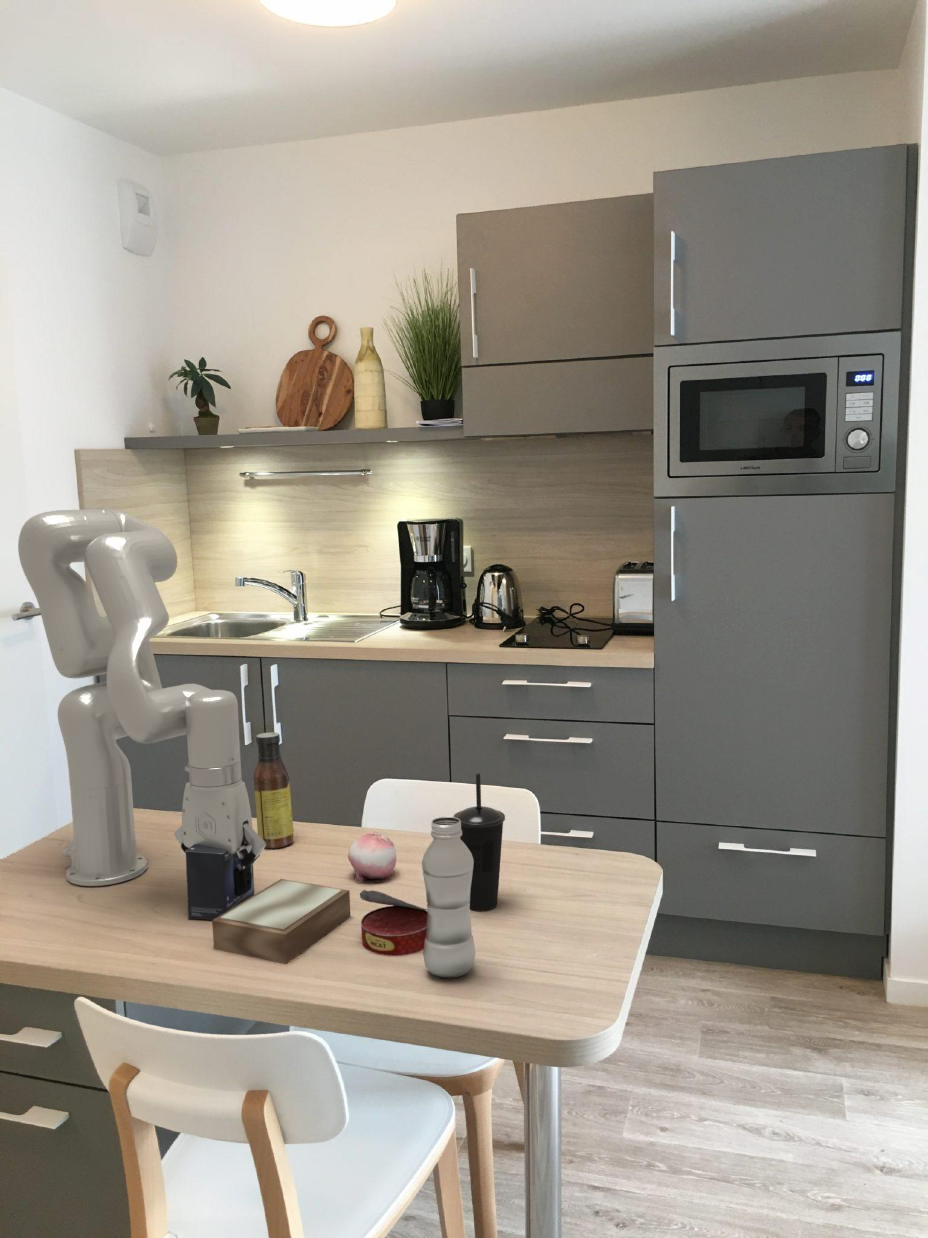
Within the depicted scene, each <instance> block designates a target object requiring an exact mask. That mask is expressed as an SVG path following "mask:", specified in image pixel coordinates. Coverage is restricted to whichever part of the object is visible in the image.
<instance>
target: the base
mask: <svg viewBox="0 0 928 1238" xmlns="http://www.w3.org/2000/svg"><path fill="white" fill-rule="evenodd" d="M350 894H351V893H350V889H349V890H348V889H343V888H338V887H331V886H326V885H321V884H314V883H307V882H304V881H303V882H301V881H295V880H291V879H290V880H289V879H283V878H280V879H279V880H277V881H275V882H274V883H272V884H270V885H269V886H267V887H265V888H264V889H262V890H260V891H259V892H257V893H254V895H253V896H252V897H250V898H249V899H247V900H245V901H244V902H242V903H240V904H239V905H237V906H235V907H234V908H232V909H230V910H229V911H227V912H225V913H224V914H222V915H220V916H219V917H217V918H215V919H214V920H211V921H212V924H211V925H212V937H213V938H212V940H213V949H215V950H220V951H225V952H229V953H234V954H240V955H244V956H249V957H253V958H258V959H263V960H267V961H271V962H273V961H274V962H278V963H282V964H289V963H290V962H291V961H292V960H293V959H295V958H296V957H298V956H299V955H300V954H302V953H303V952H304V951H306V950H307V949H309V948H310V947H312V946H313V945H314V944H315V943H317V942H318V941H319V940H321V939H322V938H323V937H325V936H326V935H328V934H329V933H330V932H332V931H333V930H334V929H336V928H338V927H339V926H340V925H341V924H343V923H344V922H345V921H347V920H348V919H349V918H351V917H352V915H351V897H350Z"/></svg>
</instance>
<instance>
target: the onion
mask: <svg viewBox="0 0 928 1238" xmlns="http://www.w3.org/2000/svg"><path fill="white" fill-rule="evenodd" d="M347 858H348V861H349V863H350V865H351V866H352V869H354V875H355V877H354V878H355V879H354V880H355V884H374V883H376V884H377V883H380V882H382V881H381V880H383V879H386V878H388V877H389V876H390V875H391V874H392V873H393V872H394V869H395V868H396V864H397V851H396V848H395V845H394V842H393V841H392V840H391V839H390V838H389V836H387V835H385V834H382V833H379V832H377V831H374V832H373V833H367V834H364V835H361V836H360V837H359V838H357V839H356V840H355V841H354V842H353V843H352V844H351V846H350V847H349V849H348V853H347ZM366 880H375V881H372V882H371V881H370V882H367V881H366Z"/></svg>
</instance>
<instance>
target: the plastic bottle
mask: <svg viewBox="0 0 928 1238" xmlns="http://www.w3.org/2000/svg"><path fill="white" fill-rule="evenodd" d="M430 823H431V831H430V836H431V837H432V838H433V839H432V841H431V842H430V844H429V845H428V847H427V848H426V849H425V852H424V854H423V856H422V858H421V859H422V860H421V869H422V876H423V881H424V888H425V897H426V909H427V910H426V911H427V912H428V913H427V929H426V937H425V942H424V949H423V951H422V955H423V961H424V965H425V967H426V968H427V970H428V971H429V973H430V974H432V975H433V976H436V977H440V978H457V977H461V976H464V975H466V974H467V973H469V972H470V971H471V969H472V967H473V966H474V965H475V959H476V945H475V944H476V943H475V939H474V935H473V932H472V931H473V930H472V921H471V920H472V919H471V912H470V911H471V910H470V903H469V902H470V889H471V881H472V874H473V863H474V860H473V857H472V854H471V852H470V850H469V849H468V848H467V846H466V845H465V844H464V842H463V841H462V840H461V839H460V837H461V836H462V830H461V821H460V819H458V818H455V817H453V816H440V817H436V818H434V819H432V820H431V822H430Z"/></svg>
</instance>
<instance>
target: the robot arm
mask: <svg viewBox="0 0 928 1238" xmlns="http://www.w3.org/2000/svg"><path fill="white" fill-rule="evenodd" d="M173 544H174V543H172V541H171V539H169V538H168V536H166V535H165V533H164V532H162V531H160V530H159V529H157V528H156V527H154V526H152V525H151V524H148V523H146V522H144V521H143V520H141V519H138V518H137V517H135V516H133V515H131V514H129V513H127V512H124V511H122V510H118V509H107V508H105V509H103V508H101V509H100V508H99V509H98V508H97V509H61V510H60V509H59V510H50V511H45V512H40V513H38V514H36V515H33V516H31V517H30V518H29V519H27V521H25V522H24V524H23V525H22V527H21V528H20V533H19V537H18V543H17V545H18V546H17V548H18V549H17V551H18V552H17V553H18V557H19V562H20V566H21V568H22V572H23V573H24V576H25V578H26V580H27V582H28V584H29V586H30V587H31V590H32V591H33V594H34V596H35V599H36V602H37V603H38V608H39V611H40V615H41V616H40V617H41V619H42V623H43V628H44V633H45V635H46V640H47V642H48V643H47V644H48V646H49V650H50V654H51V657H52V661H53V664H54V666H55V668H56V670H57V672H58V673H59V674H60V676H62V677H65V678H67V679H73V680H74V679H75V680H76V679H84V678H85V679H86V678H90V677H91V678H92V677H96V676H101V675H106V681H104V682H98V683H93V684H87V685H84V686H80V687H78V688H75V689H73V690H72V691H69V692H68V693H67V694H66V695H65V696H64V697H63V698H62V699H61V701H60V702H59V703H58V708H57V721H58V726H59V729H60V730H59V731H60V732H61V736H62V740H63V744H64V747H65V753H66V759H67V768H68V779H69V782H68V783H69V786H70V787H69V789H70V791H69V792H70V802H71V815H72V828H73V840H70V841H69V842H67V844H66V847H65V848H63V849H62V850H61V856H62V857H64V858H71V861H70V862H71V865H70V866H69V867H68V868H67V869H66V872H65V874H66V880H67V881H68V882H69V883H71V884H73V885H76V886H83V887H101V886H109V885H115V884H118V883H119V884H121V883H123V882H126V881H129V880H132V879H135V878H137V877H139V876H140V875H142V874H143V873H144V872H145V871H146V869H147V868H148V861H147V859H146V857H144V855H143V856H142V855H141V854H137V845H136V844H137V843H136V830H135V829H136V827H135V813H134V800H133V783H132V782H133V781H132V770H131V764H130V762H129V759H128V757H127V755H125V752H123V750H122V749H121V748H120V746H119V745H118V743H117V740H120V739H122V738H125V737H129V738H130V739H132V740H133V741H134V742H136V743H138V744H145V745H148V744H154V743H158V742H161V741H165V740H169V739H173V738H177V737H181V736H185V735H186V739H187V741H186V742H187V743H186V744H187V759H188V763H187V764H186V765H185V766H184V771H185V772H186V773H188V775H189V776H188V777H189V781H188V782H186V783H185V786H184V792H183V796H182V806H181V825H180V826H179V827H178V828H177V829H176V830H175V831H174V832H173V836H174V837H175V839H176V840H177V842H178V843H179V844H180V847H181V850H182V851H183V852H184V855H186V852H185V851H186V850H187V849H188V848H190V847H191V846H193V845H194V844H198V845H205V846H211V847H216V848H221V849H225V850H228V854H229V855H232V854H233V859H234V863H235V865H236V867H237V869H236V870H234V885H235V895H236V896H241V895H243V894H244V893H246V892H248V891H249V890H251V884H252V881H251V865H252V864H253V865H254V864H255V861H257V860H258V858H259V857H260V856H261V854H262V853H263V851H264V849H265V847H266V843H265V841H264V840H263V839H262V838H261V837H260V836H259V835H258V832H256V831H255V830H254V828H253V818H252V812H251V805H250V799H249V794H248V790H247V787H246V783H245V781H243V780H242V779H243V778H242V764H241V763H242V761H241V758H242V757H241V743H240V742H241V741H240V726H239V725H240V723H239V704H238V698H237V697H236V695H235V694H234V693H233V692H232V691H229V690H224V689H212V688H211V689H210V688H208V687H206V686H203V685H201V684H197V683H184V684H181V685H180V684H179V685H175V686H169V687H164V688H163V685H162V682H161V678H160V674H159V671H158V668H157V664H156V659H155V655H154V652H153V648H152V644H151V642H150V640H151V639H152V638H153V637H155V636H157V635H158V634H160V633H161V632H162V631H163V630H164V629H165V628H166V626H167V625H168V624H169V621H170V615H169V612H168V611H167V608H166V606H165V603H164V601H163V599H162V596H161V594H160V592H159V589H158V587H157V584H156V583H160V582H161V583H163V582H165V581H168V580H169V579H171V578H172V577H173V576H174V575H175V573H176V570H177V567H178V555H177V551H176V549H175V546H174V545H173ZM84 562H85V565H86V568H87V571H88V573H89V576H90V578H91V581H92V583H93V585H94V588H95V590H96V593H97V595H98V597H99V599H100V603H101V605H102V607H103V610H104V612H105V614H106V616H102V615H100V613H99V611H98V608H97V605H96V601H95V597H94V593H93V590H92V589H91V587H90V585H89V584H88V583H87V582H86V581H85V579H84V578H83V576H81V575H80V573H79V572H77V571H76V570H75V569H73V568H72V567H71V564H72V563H73V564H74V563H84ZM250 845H251V846H252V849H251V851H250V850H249V848H248V846H250ZM239 851H241V853H242V855H243V857H244V858H243V859H242V857H241V855H240V853H239Z"/></svg>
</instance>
